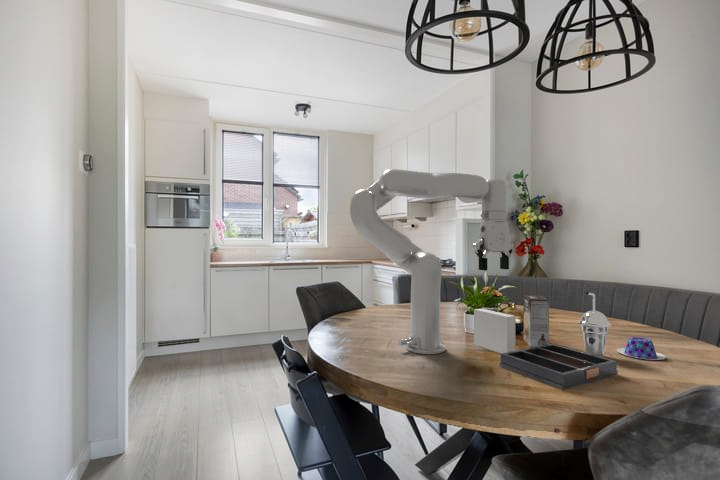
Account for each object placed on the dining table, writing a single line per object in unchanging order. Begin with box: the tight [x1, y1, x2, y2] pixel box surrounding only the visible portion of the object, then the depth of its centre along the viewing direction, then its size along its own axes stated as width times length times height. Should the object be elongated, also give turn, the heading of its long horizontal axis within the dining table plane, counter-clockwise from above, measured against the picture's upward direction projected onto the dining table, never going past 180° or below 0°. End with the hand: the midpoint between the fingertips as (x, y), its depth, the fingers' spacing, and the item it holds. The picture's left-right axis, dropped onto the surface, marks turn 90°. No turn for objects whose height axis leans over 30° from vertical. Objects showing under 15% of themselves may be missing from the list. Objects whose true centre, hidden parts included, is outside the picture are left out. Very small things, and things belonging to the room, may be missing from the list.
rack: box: [499, 343, 619, 391], centre depth 98 cm, size 23×19×4 cm
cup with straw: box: [578, 291, 612, 358], centre depth 111 cm, size 8×9×20 cm
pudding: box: [616, 336, 667, 361], centre depth 112 cm, size 12×12×5 cm
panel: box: [473, 308, 516, 354], centre depth 118 cm, size 4×14×12 cm, turn 27°
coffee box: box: [523, 295, 550, 348], centre depth 124 cm, size 9×6×16 cm
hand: (493, 269), depth 118 cm, fingers open, 9 cm apart
